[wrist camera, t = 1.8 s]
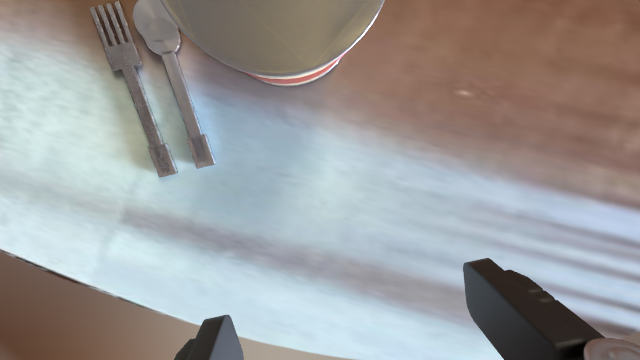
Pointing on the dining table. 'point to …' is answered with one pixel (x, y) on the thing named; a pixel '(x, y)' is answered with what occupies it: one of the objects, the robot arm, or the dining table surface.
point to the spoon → (172, 70)
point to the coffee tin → (275, 34)
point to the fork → (133, 80)
